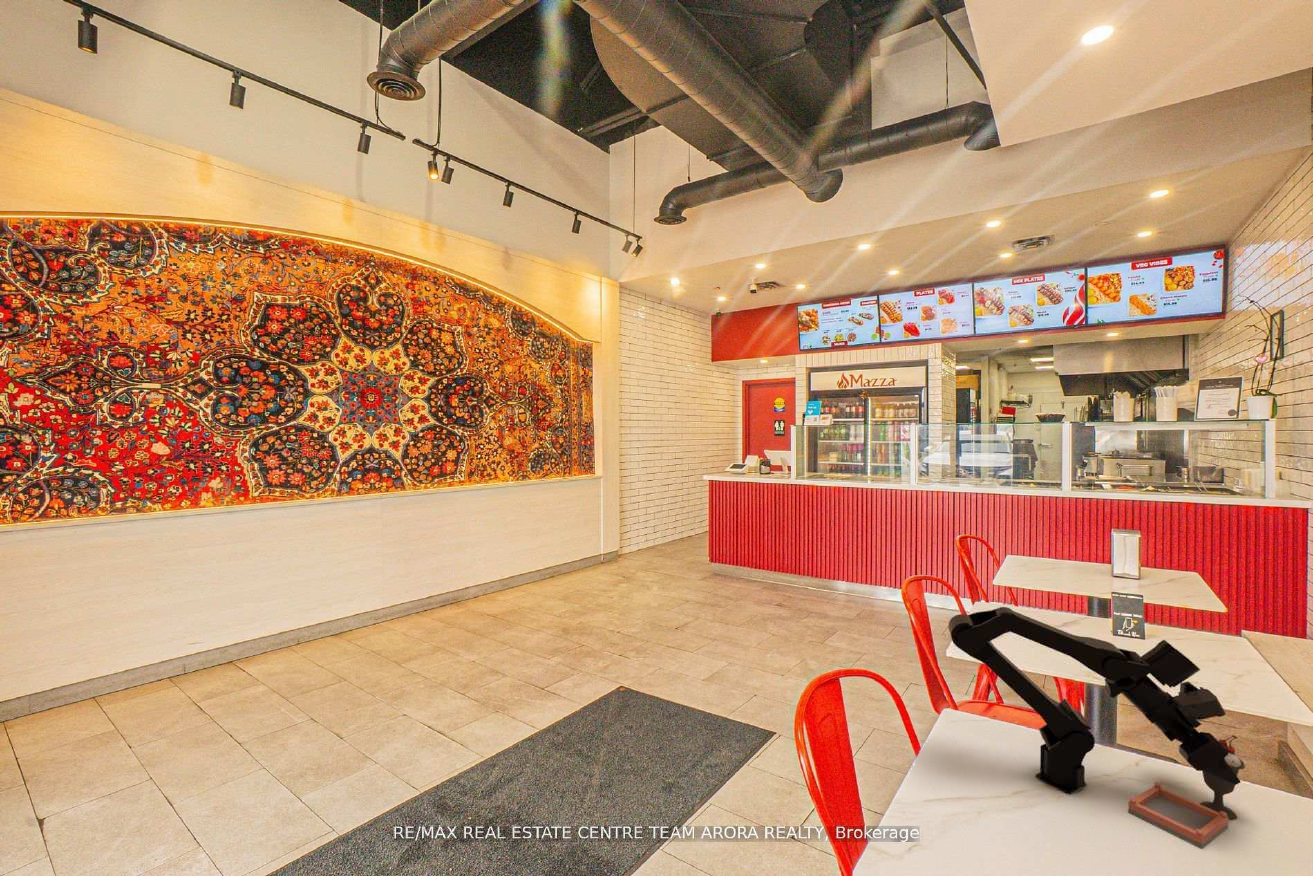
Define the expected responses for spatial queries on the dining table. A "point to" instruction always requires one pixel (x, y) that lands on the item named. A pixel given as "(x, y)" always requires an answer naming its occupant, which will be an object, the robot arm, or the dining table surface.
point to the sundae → (1223, 782)
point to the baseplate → (1179, 815)
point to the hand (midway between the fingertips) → (1224, 768)
